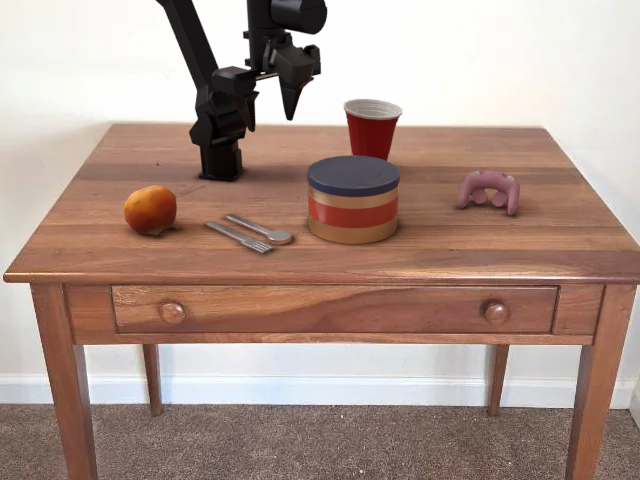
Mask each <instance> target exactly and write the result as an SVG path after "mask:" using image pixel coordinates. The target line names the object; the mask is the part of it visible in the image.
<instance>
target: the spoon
mask: <svg viewBox="0 0 640 480" xmlns="http://www.w3.org/2000/svg"><path fill="white" fill-rule="evenodd" d="M225 219H226V220H228V221H230V222H233V223H235V224H237V225H240V226H242V227H244V228H246V229H249V230H250V231H253V232H255V233H258V234H260V235H262V236H265V237H267V242H268V243H270V244H272V245H276V246H277V245H278V246H281V245H287V244H289V243H290V242H291V241H292V232H290V231H288V230H284V229H278V230H277V229H276V230H270V229H267V228H265V227H263V226H260V225H259V224H256V223H254V222H251V221H249V220H247V219H244V218H242V217H240V216H237V215H235V214H233V213H230V214H227V215H225Z"/></svg>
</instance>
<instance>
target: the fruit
mask: <svg viewBox="0 0 640 480" xmlns="http://www.w3.org/2000/svg"><path fill="white" fill-rule="evenodd" d="M177 205H178V204H177V197H176V195H175V193H173V192H172V190H171V189H169V188H168V187H166V186H164V185H157V184H153V185H149V186H145V187H143V188H139V189H138V190H136V191H133V192H132V193H131V194H130V195H129V197H128V198H127V200H126V201H125V202H124V204H123V209H122V212H123V214H124V219H125V222H126V224H128V225H129V227H130V229H132V230H133V231H135V232H136V233H138V234H141V235H154V236H157V237H159V234H160V233H161V232H162V230H164V229H169V228H175V229H176V230H179V228H178V226H176V225H175V222H176V218H177V213H178V212H177V210H178V208H177V207H178V206H177Z"/></svg>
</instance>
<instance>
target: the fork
mask: <svg viewBox="0 0 640 480" xmlns="http://www.w3.org/2000/svg"><path fill="white" fill-rule="evenodd" d="M205 226H206V227H207V228H210V229H211V230H214V231H216V232H217V233H220V234H222V235H225V236H227V237H230V238H231V239H233V240H236V241H237V242H240V244H241V246H244V247H246V248H249V249H251V250H253V251H255V252H258V253H260V254H261V255H263V254H265V253H268V252H270V251H272V250H274V246H272V245H269V244H267V243H265V242H262V241H261V240H259V239H257V238H254V237H249V236H246V235H244V234H242V233H239V232H237V231H235V230H233V229H230V228H228V227H227V226H223V225H221V224H219V223H217V222H214V221H213V220H211V221H209V222H206V223H205Z"/></svg>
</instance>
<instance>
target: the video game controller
mask: <svg viewBox="0 0 640 480" xmlns="http://www.w3.org/2000/svg"><path fill="white" fill-rule="evenodd" d="M486 190H495V191H496V192H495V193H494V194H493V195H492V197H491V202H492V205H493V206H494V207H496V208H502V207H504V206H505V205H506V203H507V214H508V216H513V215H514V214H515V212H516V210H517V207H518V203H519V199H520V193H521V192H520V191H521V184H520V183H519V181H518V180H517V179H516V178H514V177H513V176H511V175H509V174H507V173H504V172H500V171H496V170H481V171H480V170H479V171H473V172H471V173H469V174H468V175H467V176H466V177H465V178H464V180H463V182H462V185H461V188H460V191H459V195H458V202H457V203H458V207H459V209H463V208H464V207H466V205H467V203H468V202H469V200H470V197H471V196H472V198H473V201H474V202H475V203H476V204H478V205H484V204H486V202H487V201H488V194H487V192H486Z"/></svg>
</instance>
